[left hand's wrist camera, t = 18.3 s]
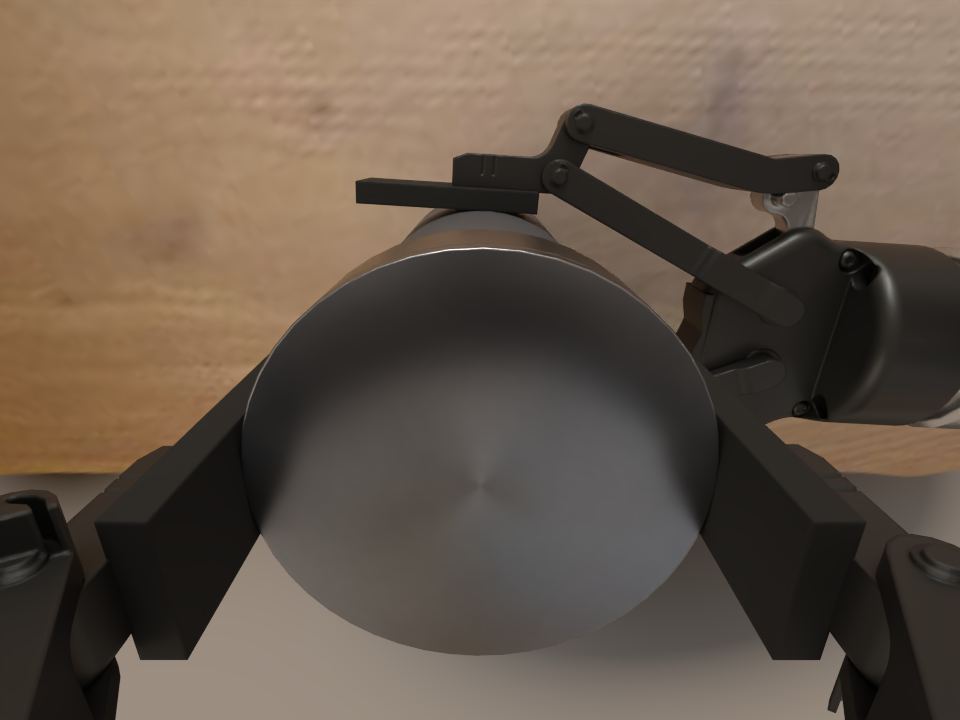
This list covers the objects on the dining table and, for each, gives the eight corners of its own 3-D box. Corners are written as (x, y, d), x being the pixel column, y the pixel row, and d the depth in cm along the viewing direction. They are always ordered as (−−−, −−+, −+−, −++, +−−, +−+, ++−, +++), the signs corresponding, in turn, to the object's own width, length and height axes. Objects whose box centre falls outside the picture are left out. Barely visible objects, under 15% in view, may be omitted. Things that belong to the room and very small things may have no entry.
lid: (196, 358, 12) (135, 403, 10) (574, 138, 10) (600, 135, 8) (415, 627, 15) (405, 705, 13) (733, 493, 13) (782, 558, 11)
